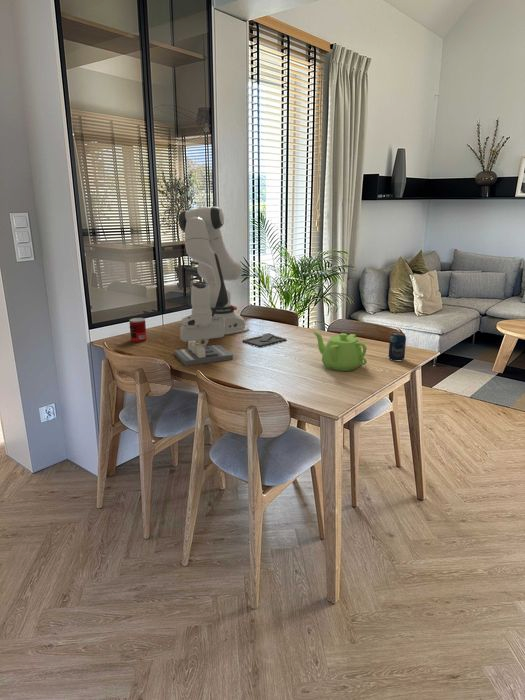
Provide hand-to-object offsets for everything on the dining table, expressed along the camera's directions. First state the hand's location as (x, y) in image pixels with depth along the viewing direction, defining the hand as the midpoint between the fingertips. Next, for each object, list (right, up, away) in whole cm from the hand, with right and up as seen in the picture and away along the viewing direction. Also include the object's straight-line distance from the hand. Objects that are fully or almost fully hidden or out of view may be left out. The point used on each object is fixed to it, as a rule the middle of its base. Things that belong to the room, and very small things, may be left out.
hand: (203, 348), depth 222 cm
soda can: (+87, -5, -3) cm, 87 cm away
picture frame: (+28, +3, +26) cm, 38 cm away
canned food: (-36, +4, +28) cm, 46 cm away
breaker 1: (-5, -1, +5) cm, 7 cm away
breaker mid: (-3, -2, -1) cm, 4 cm away
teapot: (+60, -8, -11) cm, 61 cm away
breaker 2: (0, -4, -6) cm, 7 cm away
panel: (0, -4, +1) cm, 4 cm away
